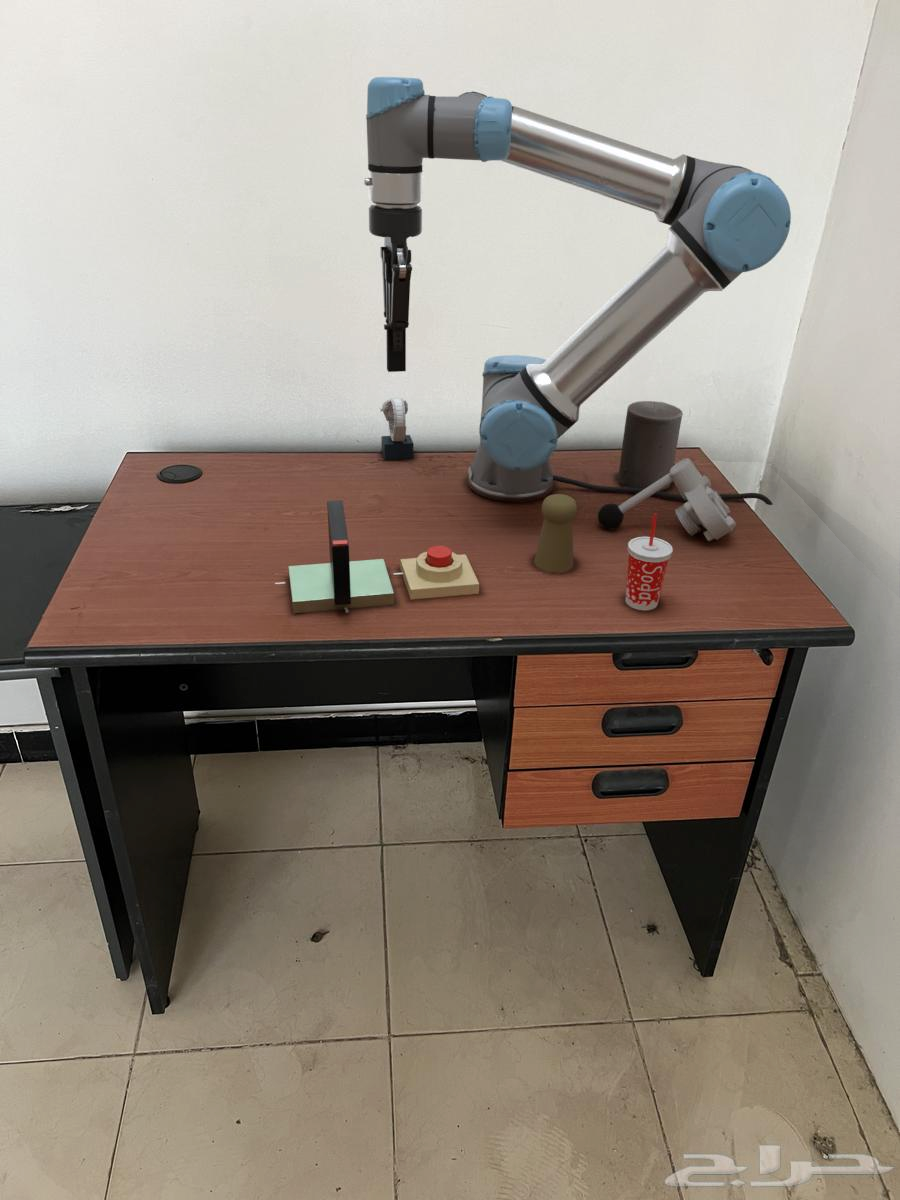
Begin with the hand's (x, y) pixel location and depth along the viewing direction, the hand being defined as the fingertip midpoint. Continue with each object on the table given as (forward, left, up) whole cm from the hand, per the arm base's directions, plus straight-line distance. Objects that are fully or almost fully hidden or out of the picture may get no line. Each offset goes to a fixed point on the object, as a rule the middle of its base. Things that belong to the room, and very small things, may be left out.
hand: (396, 369), depth 138 cm
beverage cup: (-30, +34, -25) cm, 52 cm away
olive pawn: (-21, +21, -25) cm, 39 cm away
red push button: (-2, +24, -21) cm, 32 cm away
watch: (-4, -25, -25) cm, 35 cm away
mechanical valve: (-42, +14, -25) cm, 51 cm away
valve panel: (+12, +24, -24) cm, 36 cm away
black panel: (+12, +24, -22) cm, 35 cm away
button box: (-2, +23, -24) cm, 34 cm away
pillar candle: (-47, -6, -25) cm, 53 cm away
